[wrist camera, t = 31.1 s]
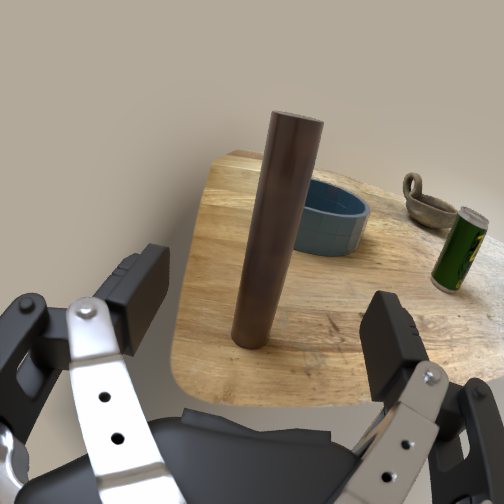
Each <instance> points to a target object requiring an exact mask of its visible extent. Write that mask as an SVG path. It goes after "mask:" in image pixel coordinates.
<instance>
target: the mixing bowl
mask: <svg viewBox="0 0 504 504" xmlns="http://www.w3.org/2000/svg"><path fill="white" fill-rule="evenodd" d="M369 215H370V207H369V205H368V204H367V203H366V202H365V201H364V200H363V199H361V198H360V197H358V196H357V195H355V194H354V193H352V192H350V191H348V190H346V189H344V188H341V187H338V186H336V185H333V184H330V183H327V182H324V181H320V180H317V179H313V178H311V181H310V185H309V190H308V194H307V198H306V202H305V206H304V210H303V213H302V217H301V221H300V225H299V229H298V233H297V237H296V240H295V244H294V248H293V249H296V250H299V251H303V252H306V253H311V254H316V255H322V256H342V255H347V254H350V253H352V252H354V251H355V250H356V249H357V247H358V245H359V243H360V241H361V238H362V235H363V233H364V230H365V227H366V224H367V221H368V218H369Z"/></svg>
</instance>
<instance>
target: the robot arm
mask: <svg viewBox="0 0 504 504" xmlns="http://www.w3.org/2000/svg"><path fill="white" fill-rule="evenodd" d="M169 260H170V251H169V247H165V246H160V245H156V244H151V243H150V244H148V246H147V247H146V248H145V249H144V250H143V251H142V253H141V254H136V253H134V254H132V255H130V256H129V257H127V258H125V259H123V261H122V262H121V263H120V264H119V265H118V266H117V268H116V269H115V270H114V271H113V272H112V275H110V276H109V277H108V278H107V280H106V281H105V282H104V283H103V284H102V285H101V287H100V288H99V289H98V290H97V291H96V293H95V294H94V295H93V296H92V297H84V298H81V299H78V300H76V301H74V302H73V303H71V304H70V306H69V307H68V308H52V307H47V305H46V301H45V299H44V297H43V296H41V295H39V294H37V293H26V294H23V295H21V296H19V297H17V298H16V299H15V300H14V301H13V302H12V303H11V305H9V307H8V308H7V309H6V310H5V311H4V313H3V314H2V315H1V316H0V504H403V502H404V500H405V498H406V497H407V495H408V493H409V492H410V490H411V488H412V486H413V484H414V482H415V481H416V478H417V477H418V475H419V473H420V471H421V469H422V467H423V465H424V463H425V461H426V458H427V456H428V462H429V471H430V480H431V491H432V504H504V426H503V423H502V420H501V417H500V414H499V411H498V408H497V405H496V402H495V399H494V396H493V393H492V391H491V389H490V387H489V386H488V385H487V384H486V383H485V382H484V381H483V380H481V379H479V378H471V379H469V380H468V381H467V383H466V384H465V385H464V386H461V385H458V384H455V383H452V382H449V379H448V376H447V374H446V372H445V371H444V369H443V368H442V367H440V366H439V365H438V364H436V363H434V362H431V361H429V358H428V355H427V352H426V350H425V347H424V345H423V342H422V340H421V337H420V336H419V332H418V330H417V328H416V325H415V322H414V320H413V318H412V316H411V315H410V314H409V313H408V311H407V310H406V309H405V308H402V306H401V304H400V301H399V299H398V297H397V295H396V294H395V293H390V292H385V291H379V290H378V291H376V293H375V294H374V296H373V298H372V300H371V302H370V304H369V307H368V309H367V311H366V313H365V315H364V317H363V319H362V321H361V324H360V330H359V334H360V340H361V344H362V349H363V354H364V359H365V365H366V370H367V375H368V381H369V387H370V392H371V398H372V401H375V402H383V403H384V407H383V408H382V409H381V410H380V412H379V413H378V415H377V416H376V418H375V419H374V421H373V422H372V424H371V425H370V427H369V428H368V429H367V431H366V432H365V434H364V435H363V436H362V438H361V439H360V441H359V442H358V443H357V444H356V446H355V447H354V448H353V449H352V450H351V451H350V450H349V449H347V448H346V447H344V446H342V445H340V444H337V443H335V442H331V431H319V430H308V429H298V428H296V429H286V430H276V431H264V432H259V431H255V430H252V429H250V428H247V427H244V426H242V425H240V424H237V423H235V422H233V421H230V420H228V419H226V418H224V417H221V416H216V415H212V414H208V413H204V412H199V411H195V410H191V409H187V408H184V411H183V414H182V417H166V418H160V419H156V420H152V421H149V422H146V420H145V417H144V415H143V412H142V410H141V407H140V404H139V402H138V399H137V396H136V394H135V391H134V388H133V385H132V383H131V380H130V377H129V374H128V371H127V368H126V365H125V361H124V358H123V356H122V355H123V354H126V355H129V356H134V354H135V352H136V351H137V349H138V346H139V345H140V343H141V341H142V339H143V337H144V335H145V333H146V331H147V330H148V328H149V326H150V324H151V322H152V320H153V318H154V316H155V314H156V313H157V311H158V308H159V307H160V305H161V304H162V302H163V300H164V298H165V296H166V294H167V291H168V286H169V264H170V261H169ZM27 352H28V354H27ZM26 354H27V356H26V357H25V359H24V360H23V358H24V356H25V355H26ZM22 360H23V362H22V363H21V361H22ZM20 363H21V365H20V367H19V368H18V366H19V364H20ZM17 368H18V370H17ZM62 370H69V371H70V377H71V383H72V389H73V394H74V398H75V404H76V408H77V412H78V417H79V421H80V426H81V430H82V433H83V437H84V441H85V444H86V448H87V451H88V453H87V454H85V455H83V456H81V457H80V458H77V459H75V460H73V461H71V462H69V463H67V464H65V465H63V466H61V467H59V468H57V469H54V470H52V471H50V472H47V473H45V474H43V475H41V476H38V477H36V478H34V479H32V480H30V481H29V480H28V474H27V472H28V471H29V454H28V451H27V449H26V447H25V444H26V441H27V439H28V437H29V435H30V433H31V431H32V429H33V426H34V424H35V422H36V420H37V418H38V416H39V414H40V412H41V410H42V408H43V406H44V404H45V402H46V400H47V398H48V396H49V394H50V392H51V390H52V389H53V386H54V384H55V383H56V381H57V379H58V377H59V375H60V374H61V372H62ZM465 429H466V431H467V435H468V440H469V444H470V451H469V454H468V456H467V458H466V459H465V460H464V457H463V452H462V447H461V442H460V437H459V434H460V433H461V432H463V431H464V430H465Z"/></svg>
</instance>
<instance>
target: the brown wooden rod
mask: <svg viewBox="0 0 504 504" xmlns="http://www.w3.org/2000/svg"><path fill="white" fill-rule="evenodd" d="M323 125H324V122H323V121H320V120H316V119H313V118H310V117H306V116H301V115H297V114H292V113H287V112H281V111H272V114H271V119H270V124H269V129H268V134H267V140H266V145H265V151H264V156H263V161H262V166H261V172H260V177H259V183H258V188H257V193H256V199H255V204H254V210H253V215H252V221H251V226H250V231H249V237H248V242H247V248H246V253H245V259H244V264H243V270H242V275H241V281H240V286H239V292H238V298H237V303H236V309H235V314H234V320H233V326H232V331H231V336H232V338H233V340H234V342H235V343H237V344H238V345H239V346H241V347H244V348H247V349H257V348H260V347H262V346H264V345H265V344H266V342H267V340H268V337H269V333H270V330H271V327H272V323H273V320H274V316H275V313H276V309H277V306H278V302H279V299H280V295H281V292H282V288H283V285H284V281H285V278H286V274H287V270H288V267H289V263H290V259H291V256H292V252H293V248H294V244H295V240H296V237H297V233H298V229H299V225H300V221H301V217H302V213H303V210H304V206H305V202H306V198H307V194H308V190H309V185H310V181H311V177H312V173H313V169H314V165H315V160H316V156H317V152H318V148H319V143H320V139H321V134H322V130H323Z"/></svg>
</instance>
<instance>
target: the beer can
mask: <svg viewBox="0 0 504 504" xmlns="http://www.w3.org/2000/svg"><path fill="white" fill-rule="evenodd" d="M488 224H489V220H487V219H486V218H485V217H484V216H482V215H481V214H479V213H477V212H476V211H474V210H472V209H469V208H467V207H464V206H462V207H461V210H460V211H459V212H458V213H457V215H456V218H455V220H454V223H453V225H452V228H451V230H450V233H449V235H448V237H447V240H446V242H445V244H444V247H443V249H442V251H441V253H440V256H439V258H438V260H437V262H436V264H435V266H434V268H433V270H432V272H431V280H432V282H433V283H434V285H435V286H436V287H438V288H439V289H440V290H442V291H444V292H446V293H452V294H453V293H455V292H456V291H458V290H459V288H460V286H461V284H462V283H463V281H464V279H465V277H466V275H467V273H468V271H469V269H470V267H471V265H472V263H473V261H474V259H475V257H476V255H477V253H478V250H479V248H480V246H481V244H482V242H483V239H484V237H485V235H486V232H487V230H488Z"/></svg>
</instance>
